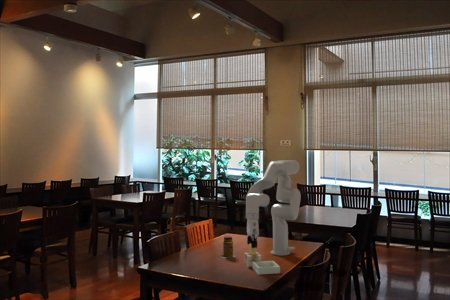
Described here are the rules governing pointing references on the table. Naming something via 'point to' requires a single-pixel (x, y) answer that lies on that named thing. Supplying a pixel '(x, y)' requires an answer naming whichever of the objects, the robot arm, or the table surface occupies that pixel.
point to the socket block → (251, 259)
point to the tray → (266, 267)
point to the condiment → (227, 247)
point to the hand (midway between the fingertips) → (252, 245)
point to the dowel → (252, 250)
